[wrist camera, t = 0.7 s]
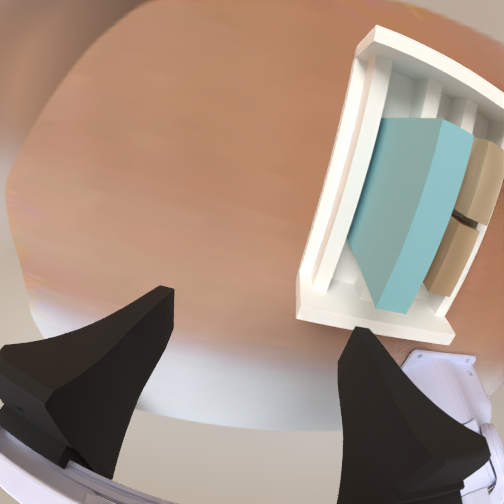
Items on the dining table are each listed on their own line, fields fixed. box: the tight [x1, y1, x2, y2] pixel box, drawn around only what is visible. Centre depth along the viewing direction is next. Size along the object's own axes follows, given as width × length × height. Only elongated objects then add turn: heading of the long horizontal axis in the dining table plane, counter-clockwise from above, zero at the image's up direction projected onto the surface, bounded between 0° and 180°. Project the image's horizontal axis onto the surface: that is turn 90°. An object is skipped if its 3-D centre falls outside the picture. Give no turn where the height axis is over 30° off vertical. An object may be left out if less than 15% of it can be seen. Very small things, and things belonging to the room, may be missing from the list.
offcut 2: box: [454, 137, 504, 226], centre depth 14 cm, size 2×5×4 cm, turn 168°
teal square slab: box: [346, 118, 474, 314], centre depth 13 cm, size 2×8×8 cm, turn 168°
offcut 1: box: [423, 214, 480, 297], centre depth 17 cm, size 2×5×3 cm, turn 168°
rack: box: [296, 25, 504, 345], centre depth 16 cm, size 12×17×5 cm
